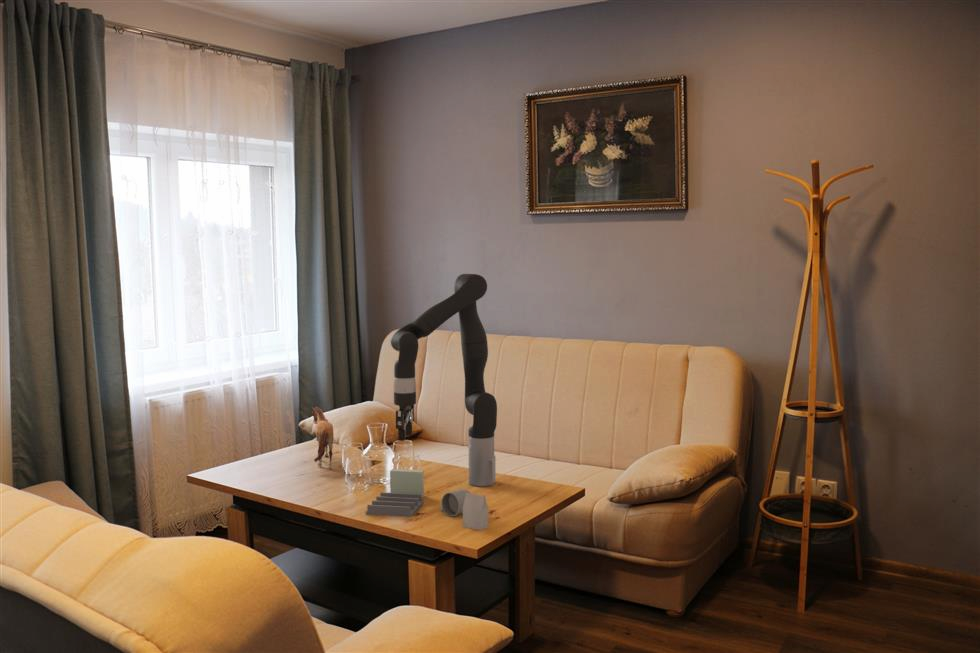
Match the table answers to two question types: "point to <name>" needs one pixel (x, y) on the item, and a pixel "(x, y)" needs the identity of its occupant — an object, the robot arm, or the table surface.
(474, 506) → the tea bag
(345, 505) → the table surface
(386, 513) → the slot rack
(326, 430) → the horse figurine
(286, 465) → the table surface
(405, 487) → the green tile
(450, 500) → the ceramic mug
